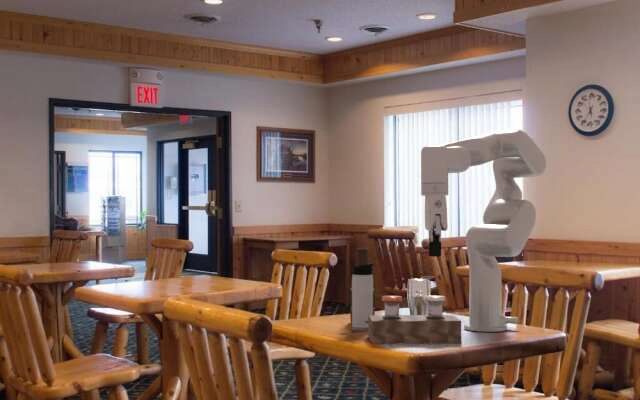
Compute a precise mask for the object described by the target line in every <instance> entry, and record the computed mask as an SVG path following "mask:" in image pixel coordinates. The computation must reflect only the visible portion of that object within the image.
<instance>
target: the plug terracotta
mask: <svg viewBox="0 0 640 400" xmlns="http://www.w3.org/2000/svg"><path fill="white" fill-rule="evenodd" d="M381 302H384V315H385V319H399V315H400V303H401V302H403V296H401V295H381Z"/></svg>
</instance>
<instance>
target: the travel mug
mask: <svg viewBox="0 0 640 400" xmlns="http://www.w3.org/2000/svg"><path fill="white" fill-rule="evenodd" d="M374 266H375V263H374V262H373V263H368V264H366V265H358V266H357V265H354V266H352V267H351V270H352V274H351V276H352V277H351V281H352V323H351V324H352V325H351V329H352V331H354V332H368V315H373V281H374V273H373V271H374V270H373V267H374Z"/></svg>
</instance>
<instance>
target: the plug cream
mask: <svg viewBox="0 0 640 400" xmlns="http://www.w3.org/2000/svg"><path fill="white" fill-rule="evenodd" d="M425 301H427V302H428V319H442V315H443V303H445V302H446V296H444V295H430V296H425Z"/></svg>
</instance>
